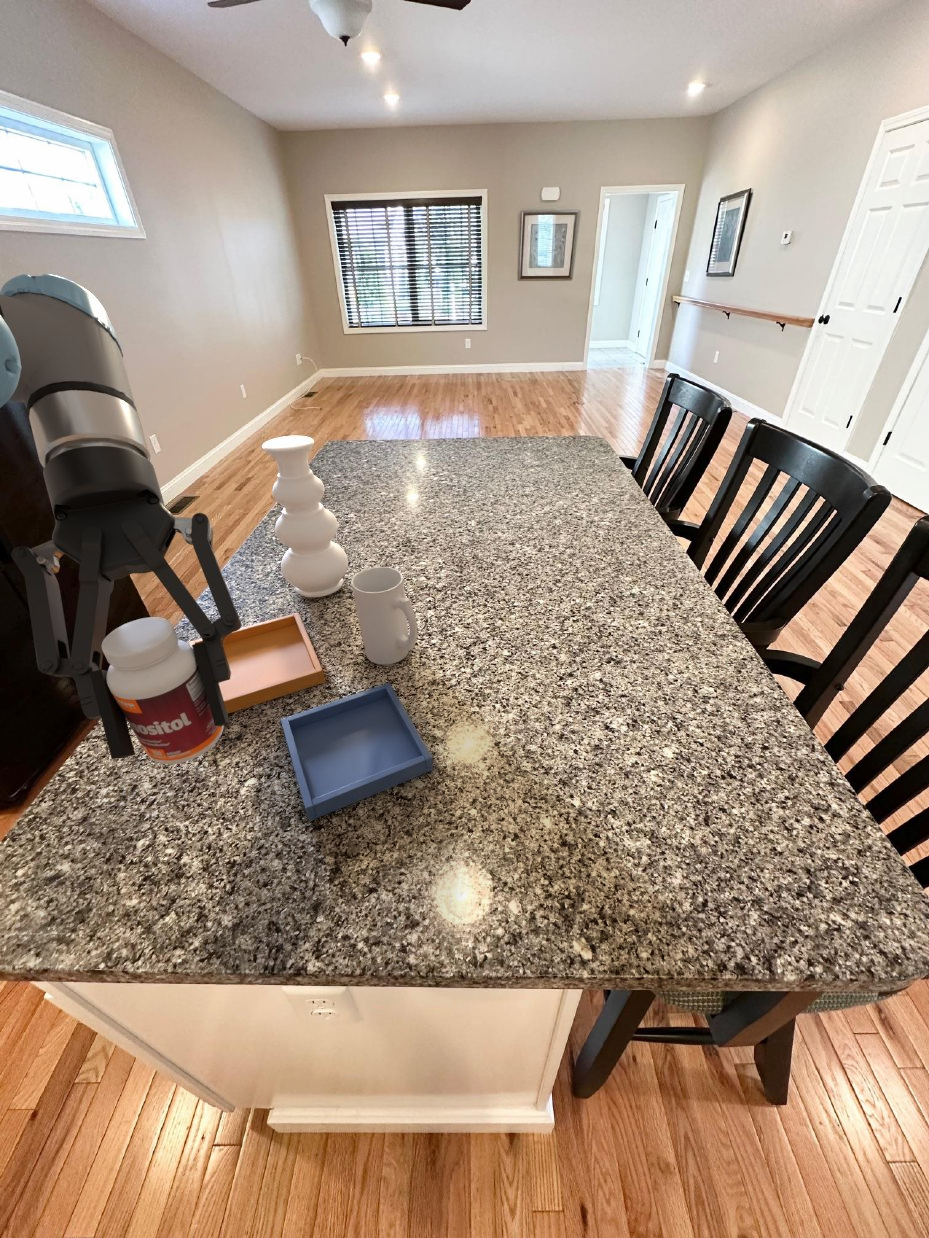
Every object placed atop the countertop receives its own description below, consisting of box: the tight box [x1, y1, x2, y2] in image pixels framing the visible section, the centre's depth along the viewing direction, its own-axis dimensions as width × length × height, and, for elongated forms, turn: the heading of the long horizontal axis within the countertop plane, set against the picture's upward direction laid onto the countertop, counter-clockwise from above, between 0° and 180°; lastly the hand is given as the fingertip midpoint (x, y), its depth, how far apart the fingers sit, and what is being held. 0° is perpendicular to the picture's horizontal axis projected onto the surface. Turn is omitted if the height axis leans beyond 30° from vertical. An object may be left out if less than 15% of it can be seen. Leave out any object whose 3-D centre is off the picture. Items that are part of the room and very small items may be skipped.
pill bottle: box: [102, 616, 225, 765], centre depth 40 cm, size 6×6×11 cm
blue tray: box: [280, 682, 434, 822], centre depth 58 cm, size 14×14×2 cm
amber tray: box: [188, 612, 326, 715], centre depth 71 cm, size 16×16×2 cm
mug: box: [350, 566, 419, 666], centre depth 69 cm, size 10×7×12 cm, turn 49°
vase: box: [261, 435, 349, 598], centre depth 82 cm, size 11×11×25 cm
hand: (174, 739), depth 39 cm, fingers closed on pill bottle, 6 cm apart
